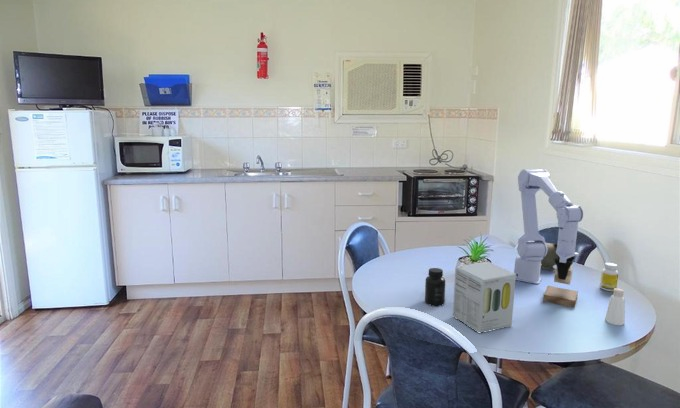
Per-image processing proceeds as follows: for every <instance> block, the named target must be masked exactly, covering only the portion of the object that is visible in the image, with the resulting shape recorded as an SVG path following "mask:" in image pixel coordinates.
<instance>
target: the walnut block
mask: <svg viewBox="0 0 680 408" xmlns="http://www.w3.org/2000/svg"><path fill="white" fill-rule="evenodd" d="M578 293H579V290H574V289H569V288H563V287H558V286H557V287H556V286H551V285H547V286H546V288H545V291H544V293H543V299H542V302H545V303H549V304H554V305H560V306H564V307H569V308H575V307H576V304H577V301H578V300H577V299H578Z"/></svg>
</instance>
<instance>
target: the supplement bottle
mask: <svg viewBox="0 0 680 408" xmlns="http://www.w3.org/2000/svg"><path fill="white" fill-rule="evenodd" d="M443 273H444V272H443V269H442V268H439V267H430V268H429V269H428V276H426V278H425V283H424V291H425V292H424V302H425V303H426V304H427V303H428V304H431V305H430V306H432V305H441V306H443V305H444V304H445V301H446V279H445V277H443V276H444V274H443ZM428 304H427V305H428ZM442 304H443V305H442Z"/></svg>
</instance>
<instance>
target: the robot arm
mask: <svg viewBox="0 0 680 408" xmlns="http://www.w3.org/2000/svg"><path fill="white" fill-rule="evenodd" d="M517 182H518V183H517V185H518V191H519V192H520V198H521V208H522V220H523V222H522V223H523V231H524V232H523V233H524V234H523V235H522V236H521V237H519V238H518V239H517V240H518V243H517V244H518V245H517V249H516V250H517V256H516V258H515V262H514V268H513V269H514V270H513V273H515V274H516V279H515V281H520V282H526V283H532V284H535V285H536V284H537V285H539V284H540V282H541V281H542V279H543V278H542V276H541V269H542V267H541V260H542V259H543V257H545V256H546V254H547V246H546V243H547V242H546V239H545V237H544V236H542V235H541V233H540V231H539V224H538V223H539V221H538V212H537V210H538V209H537V199H536V194H537V192H539V191H543V192H544V194H546V195H547V197H548V203H549V204H550V206H551V207H552V208H553V209H554V210H555V211H556V218H557V225H558V233H557V234H558V235H557V243H556V244H557V250H556V254H557V256H558V258H559V259H558V258H555V263H556V265H555V267H556V266H557V270H558V278H559V279H563V280H565V279H566V277H567V273H568V270H569V268H570V267H572V265H573V263H574V259H575V258H576V257H578V256H579V255H580V254H579V252H577V251H576V246H577V245H576V244H577V236H578V228H579V223H580V222H581V221H582V220H583V218H584V210H583V209H582V206H580V205H578V204H574V203H573V202H572V201H571V200H570V199H569V197H568V196H567V195H566V194H565V192H564V191H561V190H560V191H559V190H557V188H556V187H555V185H554V184H553V182H552V180H551V175H550V173H549V172H548V170H547V169H545V168H543V169H522V170H520V172H519V174H518V175H517Z"/></svg>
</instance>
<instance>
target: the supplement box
mask: <svg viewBox="0 0 680 408" xmlns="http://www.w3.org/2000/svg"><path fill="white" fill-rule="evenodd" d="M515 279H516V274H515V273H514V271H510V270H508V269H506V268H503V267H501V266H499V265H496V264H494V263H492V262H489V261H483V262H477V263H470V264H464V265H458V266H455V273H454V287H453V304H452V317H453V316H454V317H456V318H457V319H459V320H460V321H462V322H464V323H465V324H467V325H468V326H470V327H471V328H473V329H474V330H476V331H478V332H484V331H489V330H493V329H498V330H500V329H499V328H502V329H504V327H506V328H510V327H512V324H513V313H514V300H515V291H516V290H515V289H516V288H515V287H516V280H515ZM454 317H453V318H454ZM456 318H455V319H456ZM457 319H456V320H457ZM459 320H458V321H459ZM460 321H459V322H460ZM462 322H461V323H462ZM465 324H464V325H465ZM468 326H467V327H468ZM509 326H510V327H509ZM471 328H470V329H471ZM474 330H473V331H474ZM493 331H494V330H493ZM489 332H490V331H489Z"/></svg>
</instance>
